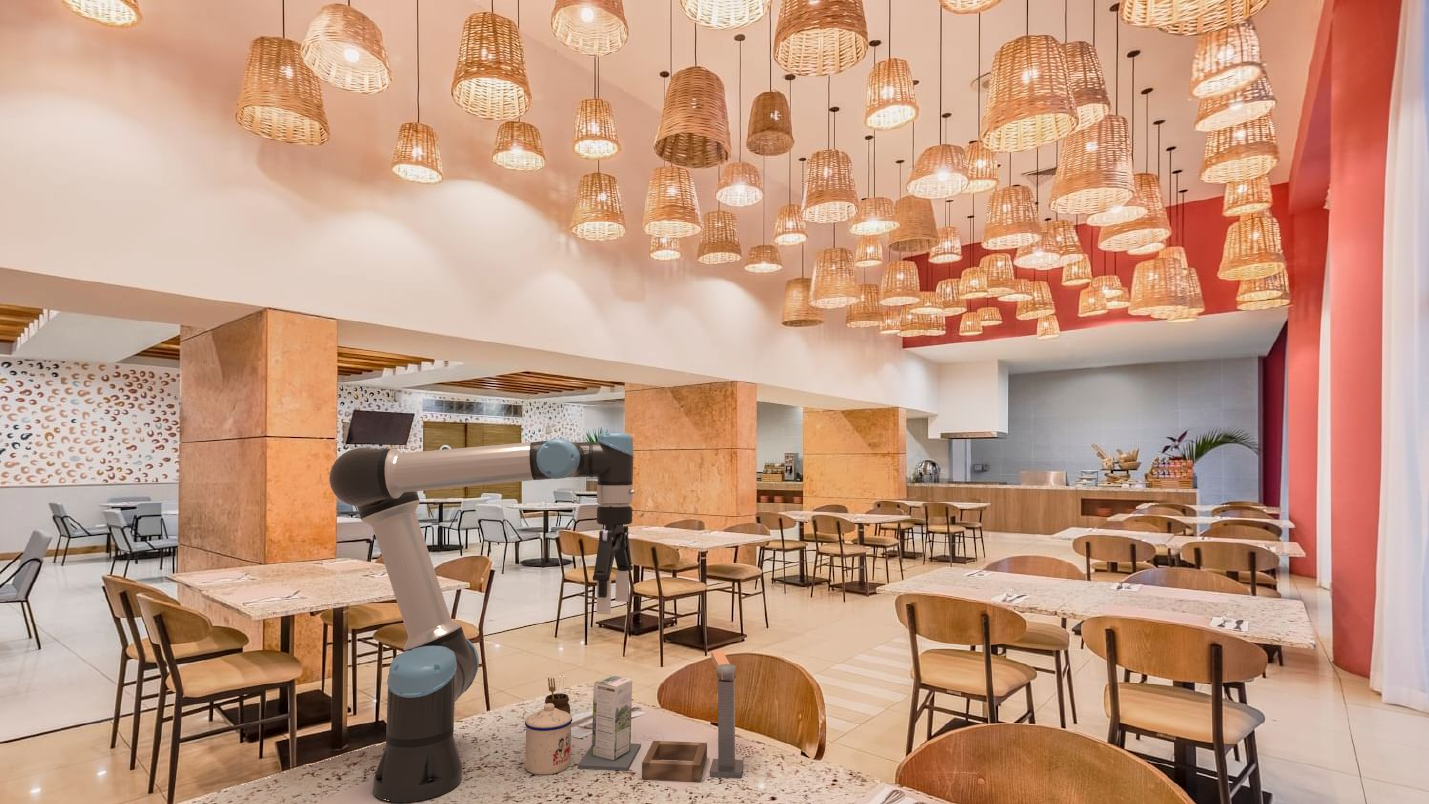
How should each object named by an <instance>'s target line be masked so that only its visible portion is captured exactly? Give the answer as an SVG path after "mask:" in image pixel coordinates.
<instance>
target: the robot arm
mask: <svg viewBox="0 0 1429 804" xmlns="http://www.w3.org/2000/svg"><path fill="white" fill-rule="evenodd" d="M565 478H597V482H596V483H597V486H596V488H597V489H596V503H597V505H599V506H597V508H596V523H597V524H598V525H604V530H599V533H598V536H599V537H598V546H597V552H596V557H595V564H594V569H593V570H594V571H593V575H592V581H594V582H596V614H597V615H599V614H601V615H610V614H611V612H612V610H611V609H612V607H611V606H612V579H611V575H612V574H611V573H612V570H613V566H614V561H615V563H616V567H617V568H616V569H617V570H616V571H615V600H614V601H615V602H620V603H621V602H624V603H625V602H629V580H630V579H629V575H630V574H629V571H633V566H634V565H632V564H633V562H632V558H631V557H632V556H631V549H630V540H629V526H628V525H630V524H632V523H633V507H632V506H631V504H632V503H633V495H635V493H636V491H635V489H633V482H634V481H633V479H634V441H633V437H632V436H631V434H630V433H626V432H625V433H623V432H603V433H599V434H598V438H597V440H596V441H594V442H592V441H591V442H580V441H570V440H569V439H564V438H551V439H549V440H542V441H539V440H538V441H534V442H533V441H526V442H516V443H506V444H505V443H504V444H492V445H482V446H472V447H470V446H469V447H457V448H449V449H448V448H446V449H434V450H424V451H412V452H411V451H409V452H401V451H399V449H397V448H385V447H384V448H382V447H381V448H373V447H357V448H353V449H350V450H348V451H345V452H344V453H342V455H341V454H340V456H338V458H337V459H336V460H335V461H334V463H333V465H332V466H331V468H330V473H329V479H328V480H329V484H330V488H331V491H332V493H333V494H334V495H335V496H336V497H337V498H338V500H339V501H341V502H343V503H345V504H347V505H349V506H353V507H356V509H357V511H358V514H359V518H360V521H361V522H363V523H365V524H368V525H370V526H371V527H372V530H373V533H374V536H375V539H376V542H377V546H378V549H379V552H380V555H381V557H382V561H383V564H384V567H385V570H386V573H387V576H388V579H389V581H390V585H391V587H392V592H393V594H394V597H395V600H396V603H397V606H398V609H399V612H400V615H401V618H402V621H403V624H404V627H405V630H406V633H407V640H406V642H405V644H404V646H403V652H401V653H399V654H398V655H397V656H395V657H394V658H393V660H392V661H391V662H390V666H389V669H388V674H387V681H386V682H387V702H386V703H387V704H386V729H385V730H386V733H385V734H386V735H385V746H384V749H383V753H382V755H381V757H380V761H379V763H378V766H377V769H376V771H375V774H374V776H373V777H374V778H373V788H372V793H373V795H374V794H375V795H376V796H377V797H379V798H381V799H386V800H389V801H394V802H393V803H412V802H420V801H425V800H429V798H430V799H433V798H436V797H439V796H441V795H445V794H447V793H448V792H450V791H452V790H454V789H455V788H456V787H458V786H459V785H460V783H462V779H463V764H462V760H461V757H460V753H459V751H458V750H459V749H458V747H457V744H456V740H455V736H454V734H455V733H454V731H455V729H454V727H455V706H456V705H455V704H456V701H458V700H459V698H460V697H461V696H462V695H463V694H464V693H465V692H466V691H467V690H468V689H470V687H471V685H473V682H474V680H475V678H476V676H477V674H478V671H479V666H480V665H479V664H480V660H479V659H480V658H479V652H478V649H477V648H476V646H475V645H474V643H473V642H471V641H470V639H468V638H467V637H466V635H465V633H464V630H463V628H462V625H461V623H459V622H457V621H453V620H452V618H451V615H450V613H449V610H448V607H447V604H446V601H445V597H444V595H443V591H442V588H441V585H440V582H439V580H438V577H437V573H436V571H435V567H434V564H433V562H432V558H431V555H430V553H429V550H428V546H427V544H426V541H425V537H424V534H423V531H422V528H421V526H420V522H419V518H418V516H417V514H416V512H417V511H416V510H417V508H418V507H419V505H420V503H421V501H420V498H419V494H418V492H422V491H433V490H434V491H435V490H445V489H455V488H464V487H465V488H466V487H475V486H477V487H478V486H488V485H497V484H498V485H499V484H508V483H510V484H511V483H520V482H529V481H541V480H544V481H545V480H553V479H554V480H560V479H565ZM610 579H611V580H610ZM375 795H374V796H375ZM376 796H375V797H376ZM377 797H376V798H377ZM379 798H378V799H379ZM381 799H380V800H381ZM389 801H388V802H389Z"/></svg>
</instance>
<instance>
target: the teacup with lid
mask: <svg viewBox="0 0 1429 804" xmlns="http://www.w3.org/2000/svg"><path fill="white" fill-rule="evenodd" d="M572 717H573V716H572V715H571V713H570V714H569V713H568V712H565V711H561V710H559V709H557V708H554V704H552V703H548V704H546V703H544V706H543V708H541V709H540V710H538V711H536V712H534V713H532V714H530V715H528V716H527V717H526V719H525V722H524V726H525V760H524V767H525V770H526V771H528V772H529V773H531V774H534V775H553V774H556V773H557V774H558V773H560V772H562V771H564V770H566V769H568V767H570V765H571V747H572V746H571V745H572V744H571V741H572V737H571V735H572V733H571V732H572V722H573V718H572Z"/></svg>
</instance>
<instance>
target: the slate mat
mask: <svg viewBox="0 0 1429 804" xmlns="http://www.w3.org/2000/svg"><path fill="white" fill-rule="evenodd" d="M641 747H642V743H635V742H634V743H631V748H630V751H629V752H628V753H626V754H624V755H623V756H621V757H619V758H618V759H616V760H609V759H604V758H600V757H596V756H592V745H591V746H590V747H589V749H587V752H585V754H584V755H583V757H582V758H581V759H580V761H579V762H578V764H577V765H576V767H577V769H582V770H584V769H585V770H602V771H624V772H625V771H626V772H627V771H629V769H630V768H631V766H632V764H633V762H634V760H635V758H636V756H637V755H638V753H639V751H640V749H641Z"/></svg>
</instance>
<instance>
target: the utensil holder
mask: <svg viewBox="0 0 1429 804" xmlns="http://www.w3.org/2000/svg"><path fill="white" fill-rule="evenodd" d="M560 678H561V675H560V676H558V677H557V681H558V680H559V679H560ZM565 679H567V678H566V676H564V675H563V678H562V680H563V681H562V686H564V684H565ZM547 683H548V691H549V692H550V693H551V694H548V695H547V696H546V697H545V699H544V704H548V703H552V704H554V708H557V709H559V710H561V711H565V712H568V713H569V714H570V715H571V706H570V705H571V704H569V701H570V697H569V695H568V694H566V693H563V692H564V690H566V689H567V687H565V689H562V690H561V692H558V689H557V686H558V687H560V685H561V684H560V683H561V680H559V681H558V683H559V685H557V684H558V683H556V681H555V678H554V677H553V678H552V677H547ZM555 692H556V693H555Z"/></svg>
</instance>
